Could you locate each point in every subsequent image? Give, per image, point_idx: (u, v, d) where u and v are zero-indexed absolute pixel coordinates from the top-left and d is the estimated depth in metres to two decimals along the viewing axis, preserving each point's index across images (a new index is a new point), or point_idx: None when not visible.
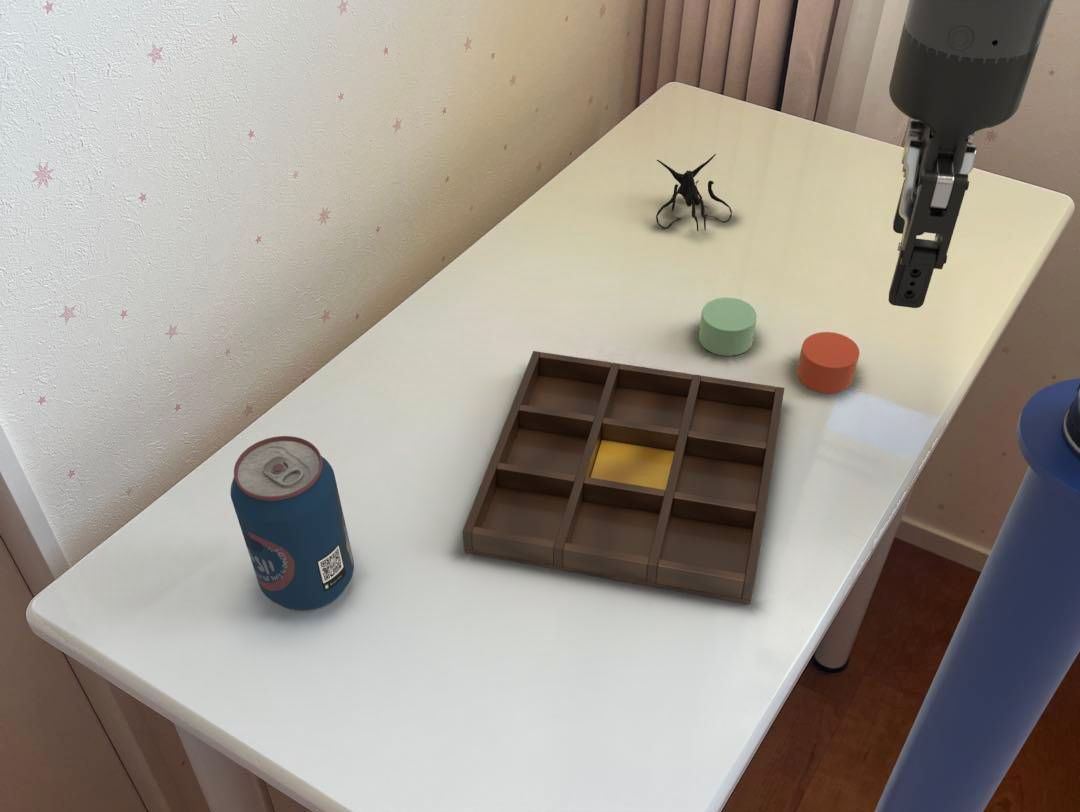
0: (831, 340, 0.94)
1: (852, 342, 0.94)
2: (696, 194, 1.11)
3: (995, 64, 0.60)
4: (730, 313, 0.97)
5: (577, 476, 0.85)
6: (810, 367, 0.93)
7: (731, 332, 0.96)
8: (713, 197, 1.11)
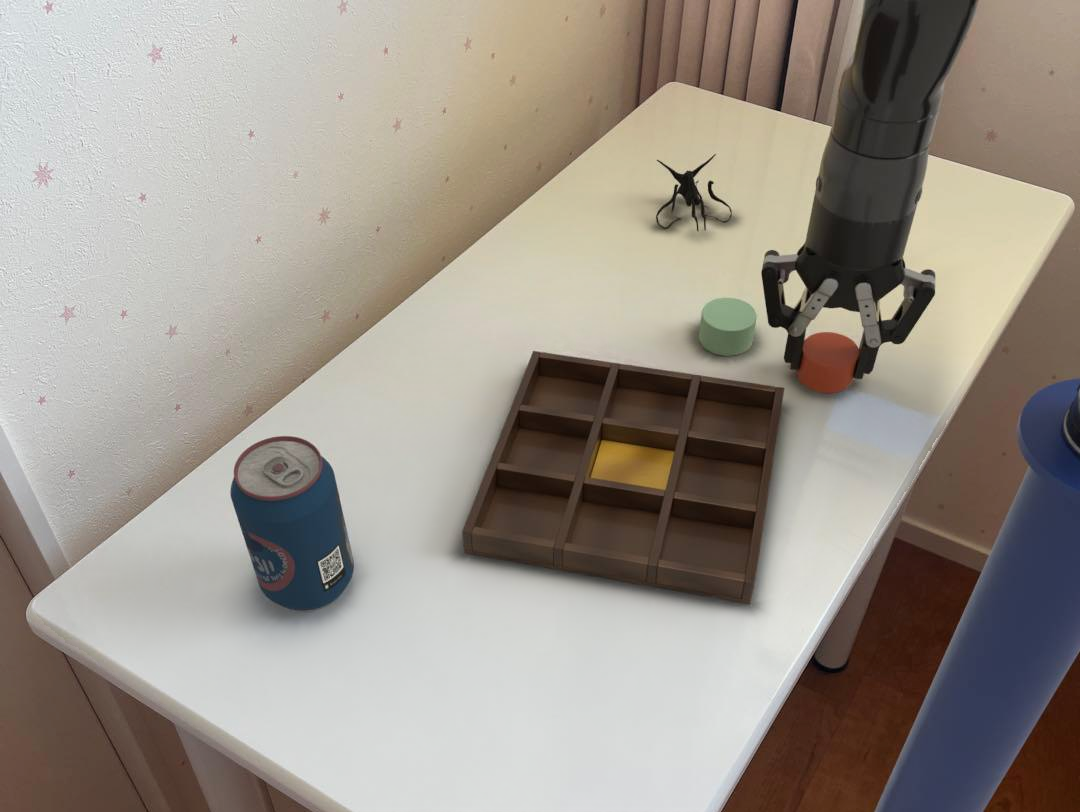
0: (831, 340, 0.94)
1: (852, 342, 0.94)
2: (696, 194, 1.11)
3: None
4: (730, 313, 0.97)
5: (577, 476, 0.85)
6: (810, 367, 0.93)
7: (731, 332, 0.96)
8: (713, 197, 1.11)
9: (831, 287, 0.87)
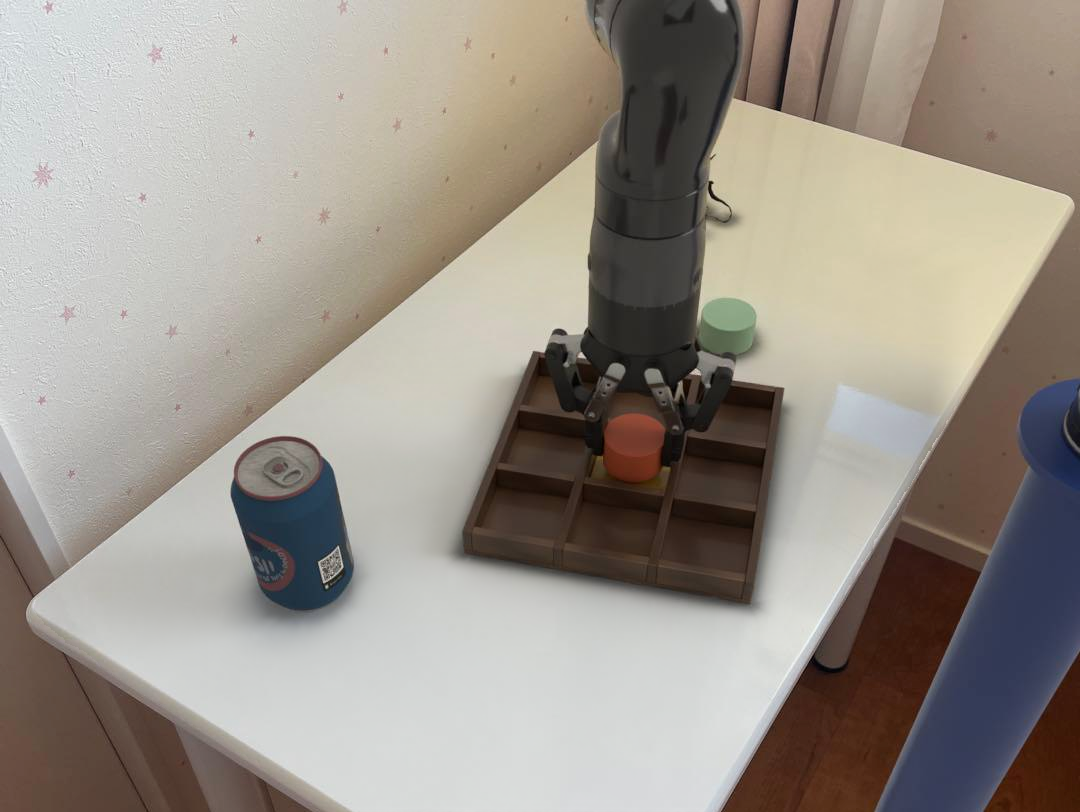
0: (638, 424, 0.85)
1: (660, 426, 0.85)
2: None
3: None
4: (730, 313, 0.97)
5: (577, 476, 0.85)
6: (611, 455, 0.84)
7: (731, 332, 0.96)
8: (713, 197, 1.11)
9: (618, 372, 0.78)
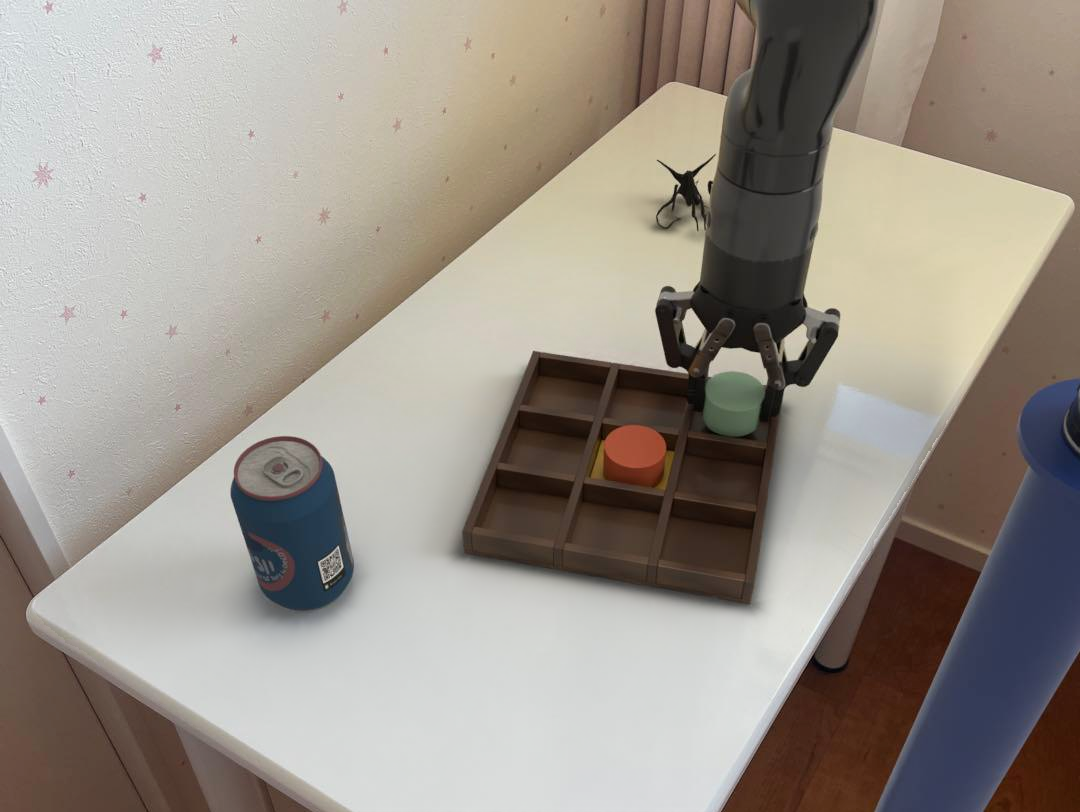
0: (638, 435, 0.86)
1: (660, 437, 0.86)
2: (696, 194, 1.11)
3: None
4: (736, 389, 0.88)
5: (577, 476, 0.85)
6: (611, 466, 0.85)
7: (737, 413, 0.86)
8: None
9: (728, 327, 0.81)
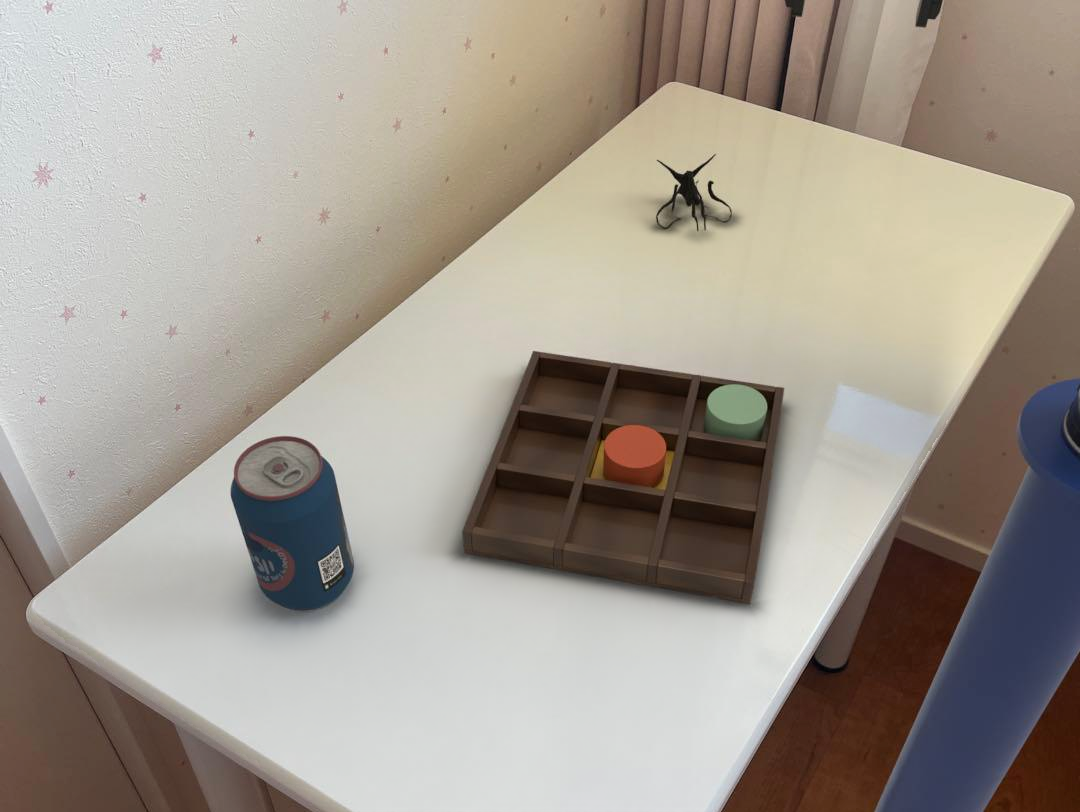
0: (638, 435, 0.86)
1: (660, 437, 0.86)
2: (696, 194, 1.11)
3: None
4: (739, 402, 0.89)
5: (577, 476, 0.85)
6: (611, 466, 0.85)
7: (739, 426, 0.87)
8: (713, 197, 1.11)
9: None
